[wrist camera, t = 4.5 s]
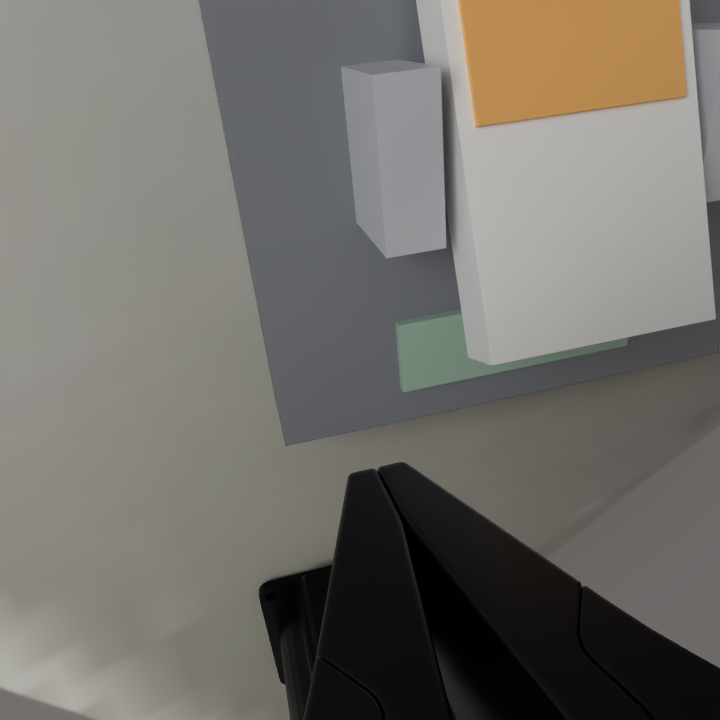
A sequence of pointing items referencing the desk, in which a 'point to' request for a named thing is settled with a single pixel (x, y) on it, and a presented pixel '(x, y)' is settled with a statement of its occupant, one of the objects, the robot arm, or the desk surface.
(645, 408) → the desk surface
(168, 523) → the desk surface
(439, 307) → the box
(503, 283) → the block
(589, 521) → the desk surface
